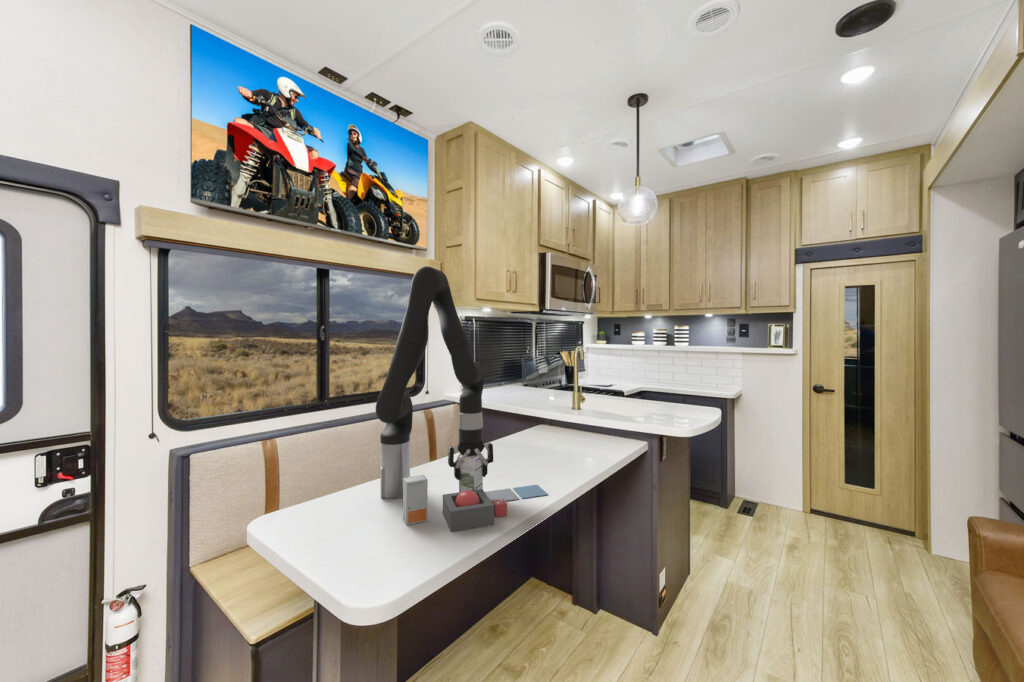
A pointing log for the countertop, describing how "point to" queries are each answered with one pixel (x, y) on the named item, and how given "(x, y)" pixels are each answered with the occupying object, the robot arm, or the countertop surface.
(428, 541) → the countertop surface
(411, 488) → the skincare box
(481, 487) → the syrup box
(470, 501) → the red ball
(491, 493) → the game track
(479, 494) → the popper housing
